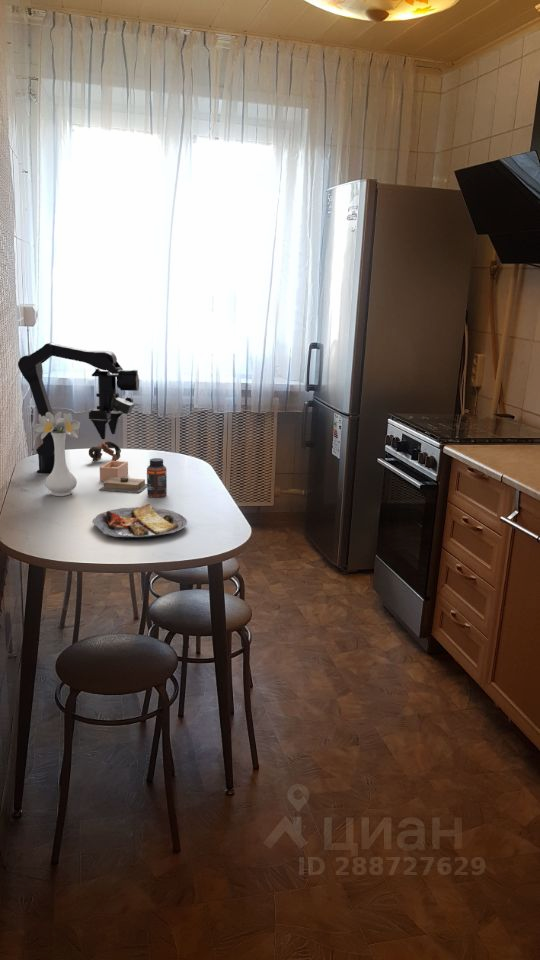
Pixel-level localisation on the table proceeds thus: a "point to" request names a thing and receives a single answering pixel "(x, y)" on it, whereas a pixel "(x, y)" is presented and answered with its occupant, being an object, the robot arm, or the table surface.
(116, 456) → the dark brown looped piece
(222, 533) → the table surface
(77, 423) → the flower vase
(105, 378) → the robot arm
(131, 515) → the food plate
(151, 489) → the supplement bottle
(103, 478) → the dish
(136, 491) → the mat
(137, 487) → the lid
